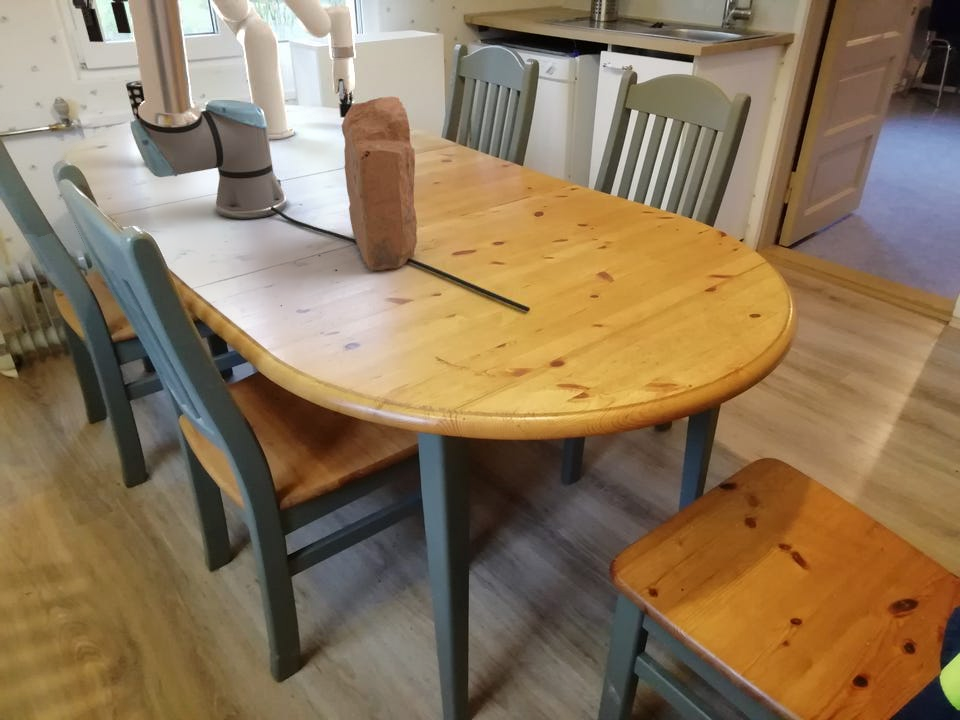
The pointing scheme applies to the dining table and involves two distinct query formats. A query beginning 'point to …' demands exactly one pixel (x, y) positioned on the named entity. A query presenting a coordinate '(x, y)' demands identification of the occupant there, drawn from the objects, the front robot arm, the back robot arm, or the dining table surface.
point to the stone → (381, 181)
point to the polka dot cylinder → (135, 96)
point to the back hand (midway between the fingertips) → (348, 114)
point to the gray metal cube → (349, 103)
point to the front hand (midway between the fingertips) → (111, 37)
